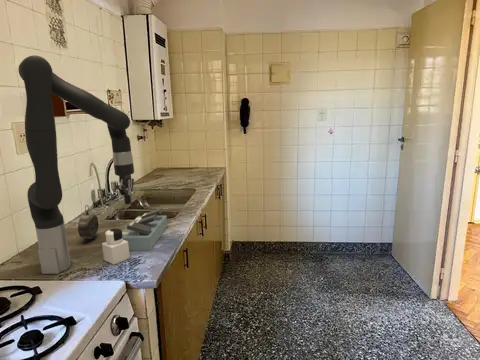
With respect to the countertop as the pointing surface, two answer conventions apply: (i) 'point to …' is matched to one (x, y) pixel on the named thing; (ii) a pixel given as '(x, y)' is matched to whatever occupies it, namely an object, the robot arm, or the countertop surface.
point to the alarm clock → (88, 225)
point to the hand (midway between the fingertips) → (128, 203)
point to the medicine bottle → (115, 247)
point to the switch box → (142, 240)
